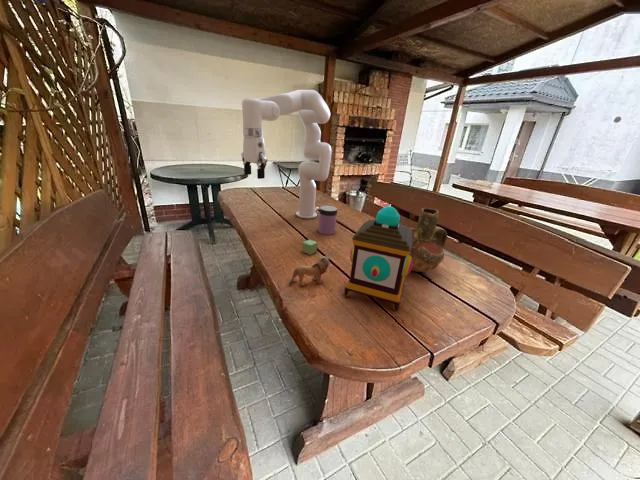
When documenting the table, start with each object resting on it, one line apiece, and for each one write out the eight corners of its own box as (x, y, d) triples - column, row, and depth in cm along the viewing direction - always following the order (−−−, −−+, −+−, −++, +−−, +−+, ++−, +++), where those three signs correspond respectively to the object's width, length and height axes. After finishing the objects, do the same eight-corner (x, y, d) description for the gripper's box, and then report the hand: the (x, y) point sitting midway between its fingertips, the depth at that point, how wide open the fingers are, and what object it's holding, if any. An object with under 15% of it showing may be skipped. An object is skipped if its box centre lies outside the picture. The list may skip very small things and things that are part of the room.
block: (308, 248, 117) (309, 239, 115) (316, 251, 115) (317, 242, 113) (302, 251, 114) (302, 242, 112) (310, 255, 111) (310, 245, 109)
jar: (324, 226, 143) (326, 205, 138) (338, 231, 138) (340, 209, 134) (314, 231, 137) (316, 209, 132) (328, 236, 132) (330, 213, 127)
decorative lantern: (338, 297, 85) (348, 208, 73) (354, 270, 102) (364, 194, 90) (401, 316, 78) (424, 222, 66) (407, 283, 95) (426, 204, 83)
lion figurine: (323, 274, 97) (325, 252, 94) (330, 281, 93) (332, 259, 90) (286, 281, 91) (286, 259, 88) (291, 290, 87) (292, 266, 83)
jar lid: (326, 209, 139) (326, 204, 138) (340, 213, 134) (340, 208, 133) (315, 212, 132) (316, 207, 132) (330, 216, 128) (330, 212, 127)
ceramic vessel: (375, 264, 107) (385, 205, 97) (420, 254, 119) (433, 201, 109) (405, 286, 93) (420, 221, 83) (453, 273, 105) (471, 213, 95)
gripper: (273, 135, 103) (273, 179, 109) (249, 132, 113) (250, 172, 120) (257, 134, 97) (258, 180, 104) (233, 131, 108) (235, 173, 115)
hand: (254, 176), depth 112 cm, fingers open, 9 cm apart
